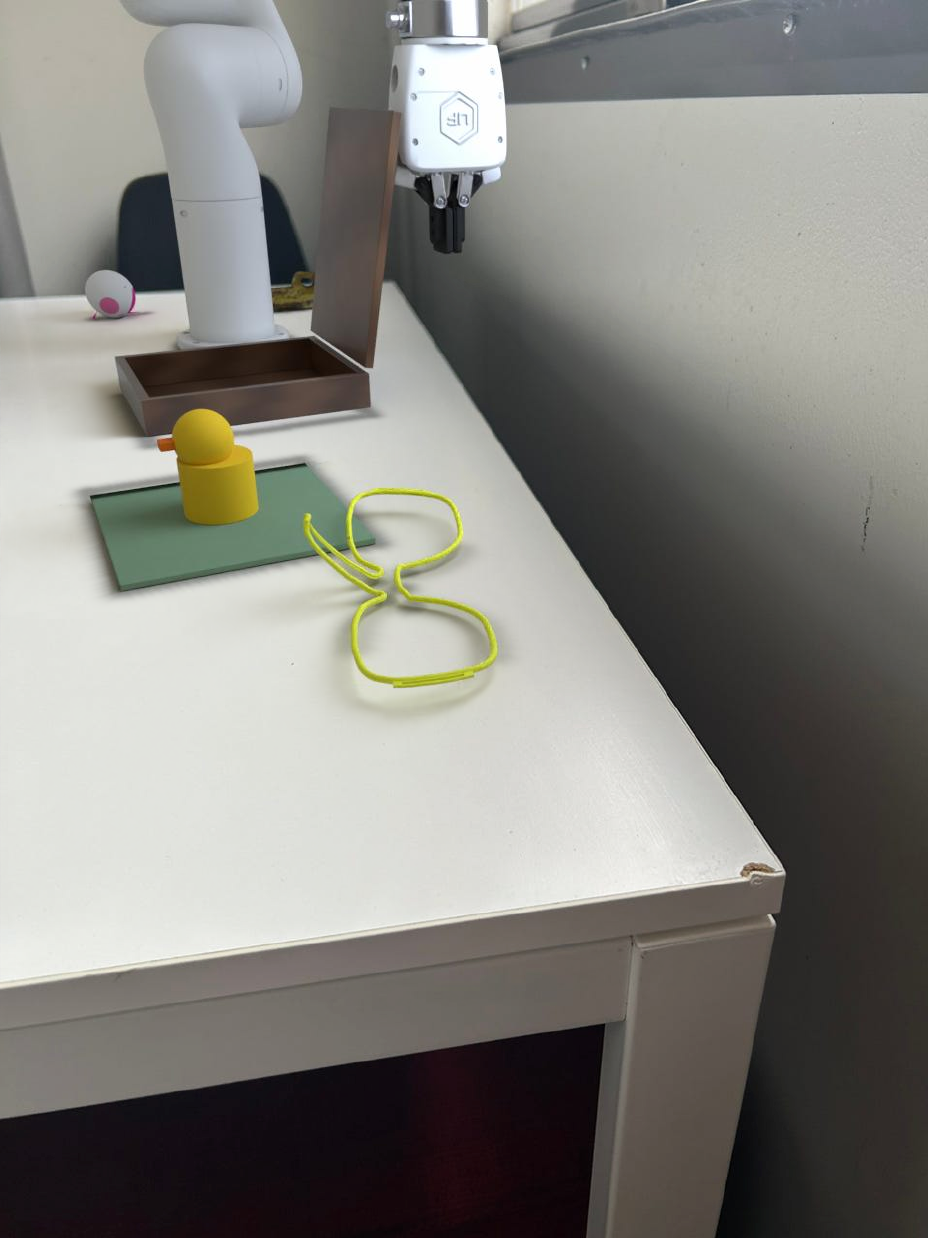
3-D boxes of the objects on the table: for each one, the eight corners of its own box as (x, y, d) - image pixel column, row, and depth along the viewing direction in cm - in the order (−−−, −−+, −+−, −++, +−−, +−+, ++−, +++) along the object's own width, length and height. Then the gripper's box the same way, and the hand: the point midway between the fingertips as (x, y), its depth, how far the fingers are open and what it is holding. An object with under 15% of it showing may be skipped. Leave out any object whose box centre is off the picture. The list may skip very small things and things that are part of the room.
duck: (249, 493, 71) (237, 394, 68) (266, 517, 67) (255, 414, 64) (164, 506, 69) (147, 405, 65) (177, 532, 65) (160, 426, 61)
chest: (148, 446, 82) (141, 401, 80) (121, 395, 95) (114, 356, 93) (371, 415, 89) (369, 373, 87) (317, 372, 102) (314, 335, 100)
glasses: (509, 700, 48) (513, 614, 45) (304, 712, 47) (296, 625, 44) (452, 501, 69) (453, 435, 67) (311, 506, 68) (306, 440, 66)
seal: (216, 322, 129) (331, 316, 131) (211, 285, 126) (329, 280, 128) (219, 300, 136) (328, 294, 138) (214, 265, 134) (325, 260, 136)
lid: (392, 109, 78) (402, 111, 79) (329, 106, 92) (337, 108, 92) (364, 367, 87) (373, 368, 87) (310, 330, 100) (317, 331, 100)
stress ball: (140, 345, 127) (163, 299, 126) (81, 315, 122) (104, 266, 121) (125, 332, 133) (147, 287, 132) (68, 303, 128) (90, 256, 126)
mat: (87, 491, 73) (86, 486, 73) (298, 459, 78) (297, 454, 78) (121, 591, 58) (119, 585, 58) (375, 543, 64) (375, 537, 64)
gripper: (378, 23, 79) (388, 263, 88) (541, 25, 85) (535, 251, 93) (347, 27, 85) (359, 251, 94) (502, 29, 91) (500, 241, 99)
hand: (447, 251), depth 94 cm, fingers closed
